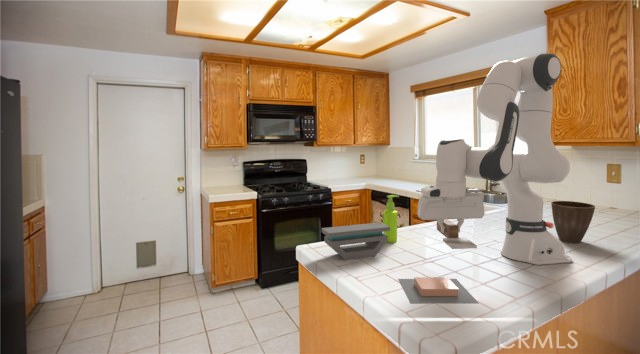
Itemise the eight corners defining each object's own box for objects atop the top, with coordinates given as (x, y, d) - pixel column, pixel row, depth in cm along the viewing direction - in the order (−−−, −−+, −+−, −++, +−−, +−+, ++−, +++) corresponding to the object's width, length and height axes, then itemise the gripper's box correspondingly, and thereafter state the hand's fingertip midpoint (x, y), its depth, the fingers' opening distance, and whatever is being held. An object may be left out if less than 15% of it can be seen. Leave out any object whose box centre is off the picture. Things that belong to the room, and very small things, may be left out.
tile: (448, 277, 101) (458, 289, 93) (447, 284, 101) (458, 296, 93) (414, 277, 101) (421, 289, 93) (414, 284, 101) (421, 296, 93)
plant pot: (599, 242, 141) (602, 205, 140) (581, 248, 134) (584, 208, 133) (560, 234, 155) (562, 199, 153) (541, 239, 148) (543, 203, 146)
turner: (430, 229, 118) (430, 217, 117) (450, 229, 118) (450, 216, 117) (452, 248, 97) (452, 234, 97) (476, 248, 97) (477, 233, 96)
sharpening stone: (379, 248, 137) (379, 222, 136) (389, 254, 130) (390, 226, 129) (321, 256, 129) (321, 228, 128) (329, 262, 122) (328, 233, 121)
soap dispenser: (401, 241, 147) (402, 195, 144) (388, 243, 144) (388, 196, 142) (393, 237, 152) (394, 193, 150) (380, 239, 149) (381, 194, 147)
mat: (456, 280, 105) (456, 278, 105) (479, 305, 89) (479, 303, 89) (397, 280, 105) (397, 278, 105) (410, 305, 90) (410, 303, 89)
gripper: (479, 187, 109) (478, 228, 111) (416, 189, 110) (416, 230, 112) (488, 190, 103) (487, 234, 105) (421, 192, 104) (421, 236, 105)
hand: (450, 232), depth 108 cm, fingers closed on turner, 3 cm apart
